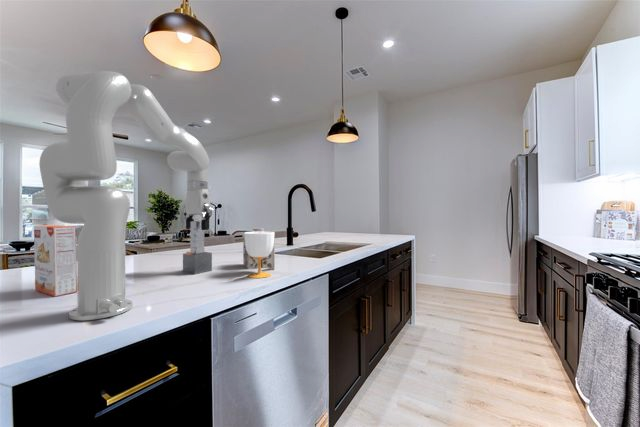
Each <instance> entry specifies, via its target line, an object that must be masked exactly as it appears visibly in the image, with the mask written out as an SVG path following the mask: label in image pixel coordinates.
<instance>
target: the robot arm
mask: <svg viewBox="0 0 640 427" xmlns="http://www.w3.org/2000/svg"><path fill="white" fill-rule="evenodd" d="M55 84H56V85H55V89H56V90H55V91H56V93H57V96H58V97H59V99H60V100H61V101H62V102H63V103H64V104H65V105H67V107H66V111H65V124H66V125H65V126H66V135H67V141H61V142H55V143H52V144H49V145H48V146H47V147H45V148H44V149H43V151H42V152H41V154H40V157H39V172H40V176H41V182H42V187H43V192H44V196H45V201H46V204H47V208H48V211H49V213H50V214H51V216H52V217H53V218H54V219H56V221H59V222H61V223H65V224H73V225H75V224H77V225H79V224H80V225H81V224H84V225H83V227H82V229H81V231H80V233H79V235H78V238H77V292H76V293H77V294H76V295H77V307H75V308H73V309H71V310H70V311H69V312H68V318H69V319H70V320H73V321H93V320H100V319H101V320H102V319H106V318H110V317H114V316H117V315H120V314H121V315H122V314H123V313H125V312H127V311H128V312H129V311H130V310H131V309H132V308H133V301H132V300H130V299H126V232H127V231H126V230H127V224H128V219H129V216H130V211H131V205H130V204H131V203H130V199H129V197H128V195H127V194H126V193H125V192H124V191H123V190H121V189H119V188H117V187H114V186H109V185H86V182H89V181H93V182H94V181H104V180H109V179H111V178H112V177H114V176H115V175H116V173H117V168H118V166H117V165H118V164H117V156H116V148H115V143H114V136H113V125H112V124H113V118H114V117H127V116H130V117H133V119H134V120H135V121H136V122H137V123H138V125H139V126H140V127H141V129H143V130H144V132H145V133H146V134H147V135H148V137H149V138H150V139H152V141H155V142H158V143H161V144H164V145H167V146H170V147H175V148H176V149H177V148H178V149H179V150H176V151H174V150H173V151H172V152H170V153H169V154H168V155H167V159H166V162H167V166H169V167H170V169H172V170H174V171H175V172H186V196H185V207H183V209H182V211H183V215H184V219H185V229H186V230H190V228H191V221H195V219H194V218H195V216H199V215H200V217H201V220H200V221H201V230H204V231H209V230H210V220H211V217H212V213H213V211H214V209H213V208H214V207H212V206H211V196H210V191H209V189H208V184H209V183H208V182H209V181H208V174H209V173H208V172H209V171H208V168H209V165H210V158H209V155H208V152H207V151H206V149H205V148H204V146H203V145H202V143H201V142H200V141H199V140H198V139H197V138H196V137H195V136H194V135H192V134H190V133H189V132H188V131H186V130H185V129H183V128H181V127H179V126H178V125H176V124H174V122H173V121H172V120H171V118H170V116H169V115H168V113H167V112H166V111H165V110H164V108H163V107H162V106H161V104H160V102H159V101H158V100H157V98H156V97H155V95H154V94H153V92H152V91H151V90H150V89H149V88H147V87H146V86H145V85H142V84H138V83H137V84H134V83H133V84H131V83H130V81H129V79H128V78H127V77H126V76H125V75H124V74H122V73H120V72H117V71H112V70H101V71H100V70H99V71H89V72H81V73H80V72H79V73H70V74H69V73H68V74H64V75H62V76H61V77H59V78H58V79H57V81H56V83H55Z"/></svg>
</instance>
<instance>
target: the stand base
mask: <svg viewBox="0 0 640 427" xmlns="http://www.w3.org/2000/svg"><path fill="white" fill-rule="evenodd" d="M209 272H213V253H212V252H207V251H204V254H198V255H193V254H192V252H191V251H186V252H184V253H182V273H185V274H190V275H200V274H204V273H209Z"/></svg>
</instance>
